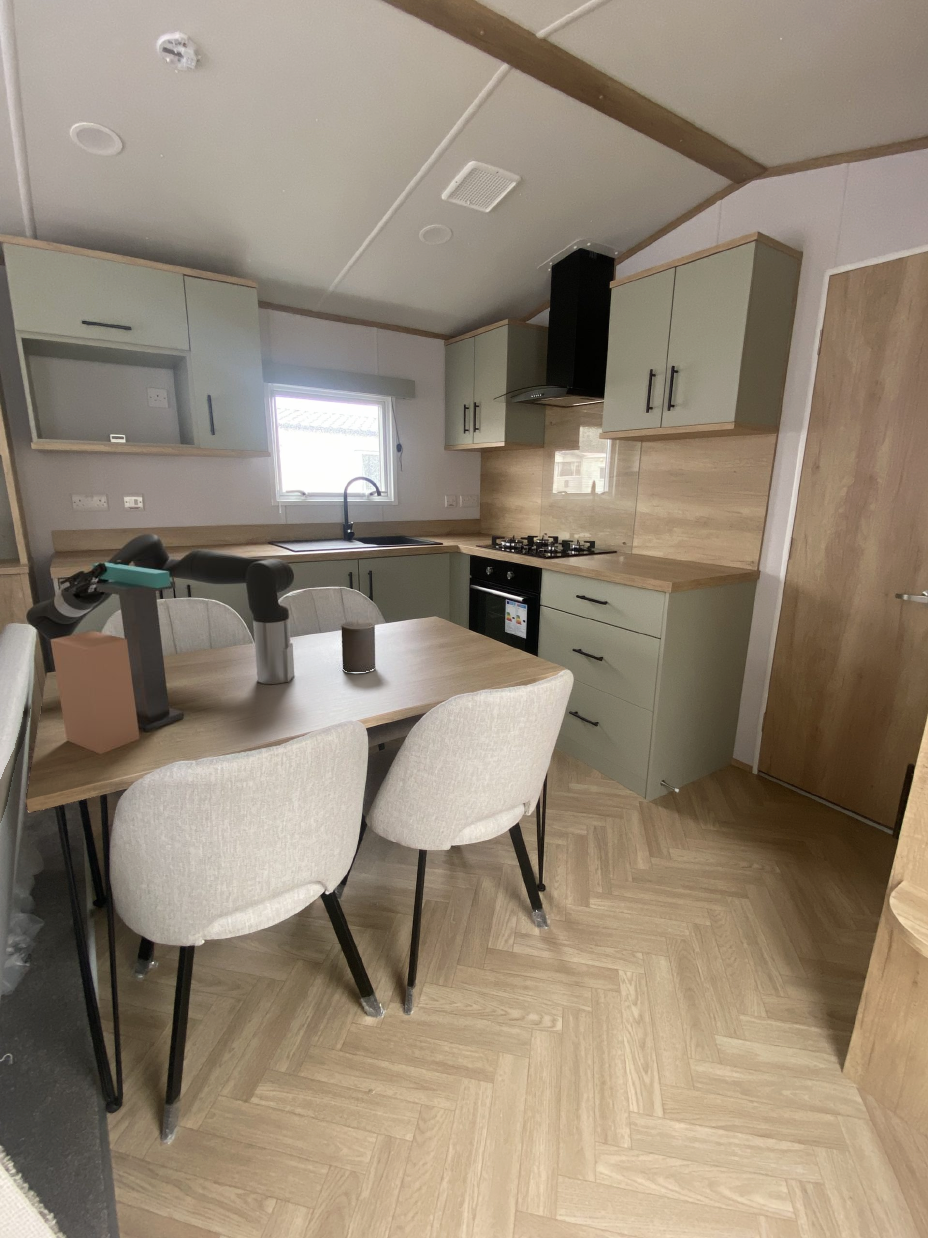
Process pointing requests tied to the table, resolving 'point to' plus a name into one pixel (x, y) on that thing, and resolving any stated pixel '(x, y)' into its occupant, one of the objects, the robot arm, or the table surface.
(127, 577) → the teal bar
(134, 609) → the stand
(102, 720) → the base block
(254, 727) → the table surface
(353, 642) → the pillar candle
